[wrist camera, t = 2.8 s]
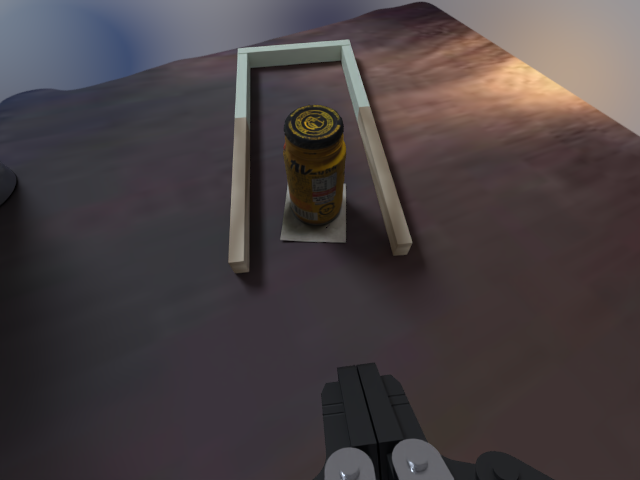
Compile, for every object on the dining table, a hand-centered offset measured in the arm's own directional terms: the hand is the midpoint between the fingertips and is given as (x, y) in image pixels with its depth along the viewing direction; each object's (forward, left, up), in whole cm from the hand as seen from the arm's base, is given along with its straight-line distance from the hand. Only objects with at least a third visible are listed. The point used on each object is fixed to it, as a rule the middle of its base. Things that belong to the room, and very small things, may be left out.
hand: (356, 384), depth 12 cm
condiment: (0, +20, -16) cm, 26 cm away
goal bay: (0, +43, -16) cm, 46 cm away
